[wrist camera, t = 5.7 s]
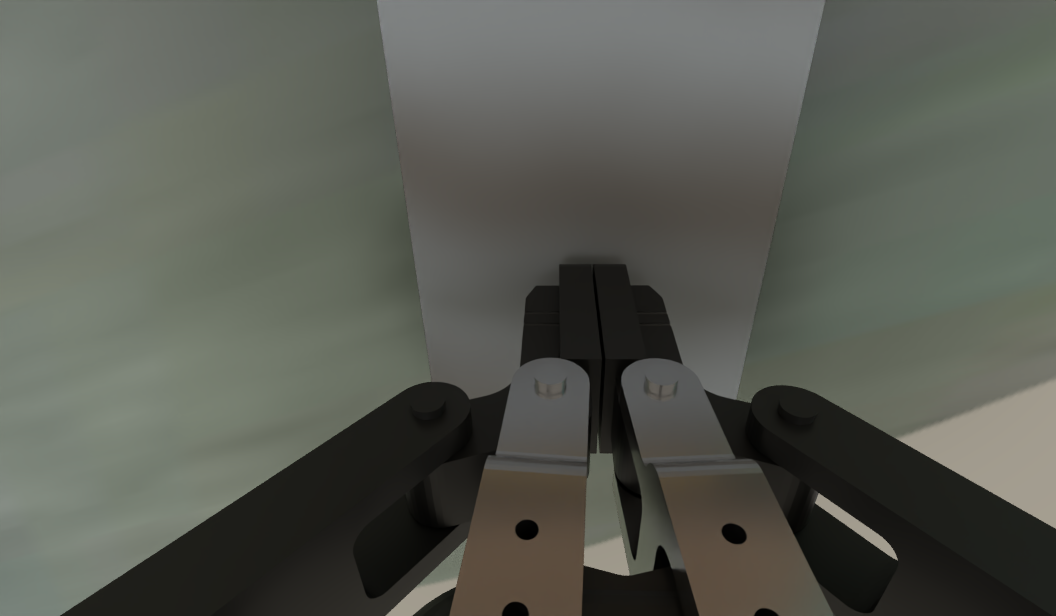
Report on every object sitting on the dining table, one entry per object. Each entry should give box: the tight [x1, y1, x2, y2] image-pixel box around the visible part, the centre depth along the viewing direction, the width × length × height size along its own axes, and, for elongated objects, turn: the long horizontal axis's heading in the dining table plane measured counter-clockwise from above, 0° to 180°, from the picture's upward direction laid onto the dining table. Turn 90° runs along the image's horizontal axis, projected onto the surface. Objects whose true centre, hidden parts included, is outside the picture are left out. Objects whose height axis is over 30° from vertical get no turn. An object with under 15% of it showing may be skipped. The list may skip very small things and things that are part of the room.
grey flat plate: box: [377, 0, 825, 400], centre depth 12 cm, size 14×8×2 cm, turn 1°
